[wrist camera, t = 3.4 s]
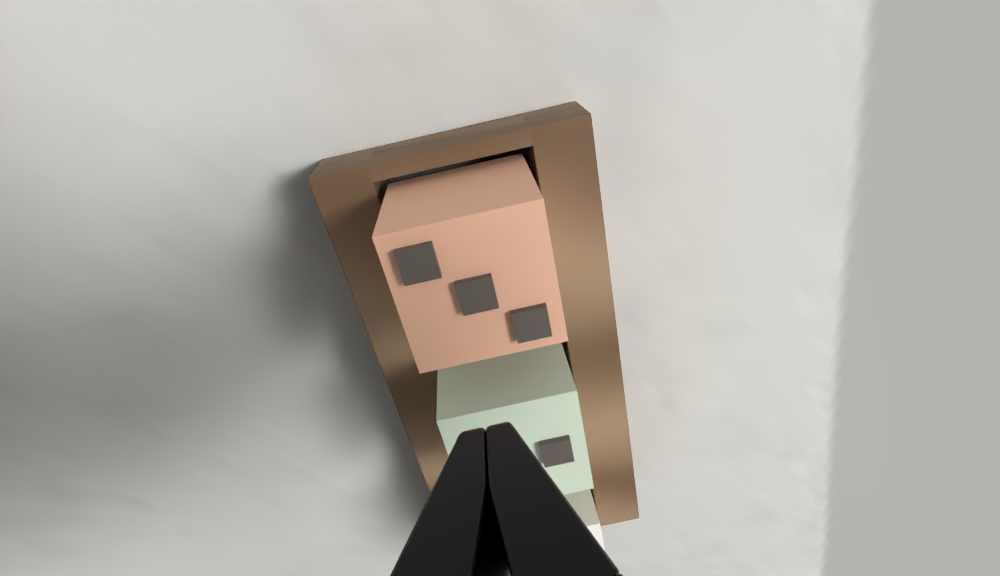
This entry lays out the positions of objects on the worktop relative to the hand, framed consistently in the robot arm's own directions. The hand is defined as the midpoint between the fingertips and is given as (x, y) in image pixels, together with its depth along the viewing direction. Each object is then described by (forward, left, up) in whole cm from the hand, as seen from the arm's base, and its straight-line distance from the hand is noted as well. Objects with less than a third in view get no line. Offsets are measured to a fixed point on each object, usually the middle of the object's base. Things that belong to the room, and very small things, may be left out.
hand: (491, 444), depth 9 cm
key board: (-6, 0, -10) cm, 12 cm away
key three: (0, 0, -9) cm, 9 cm away
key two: (-6, 0, -9) cm, 11 cm away
